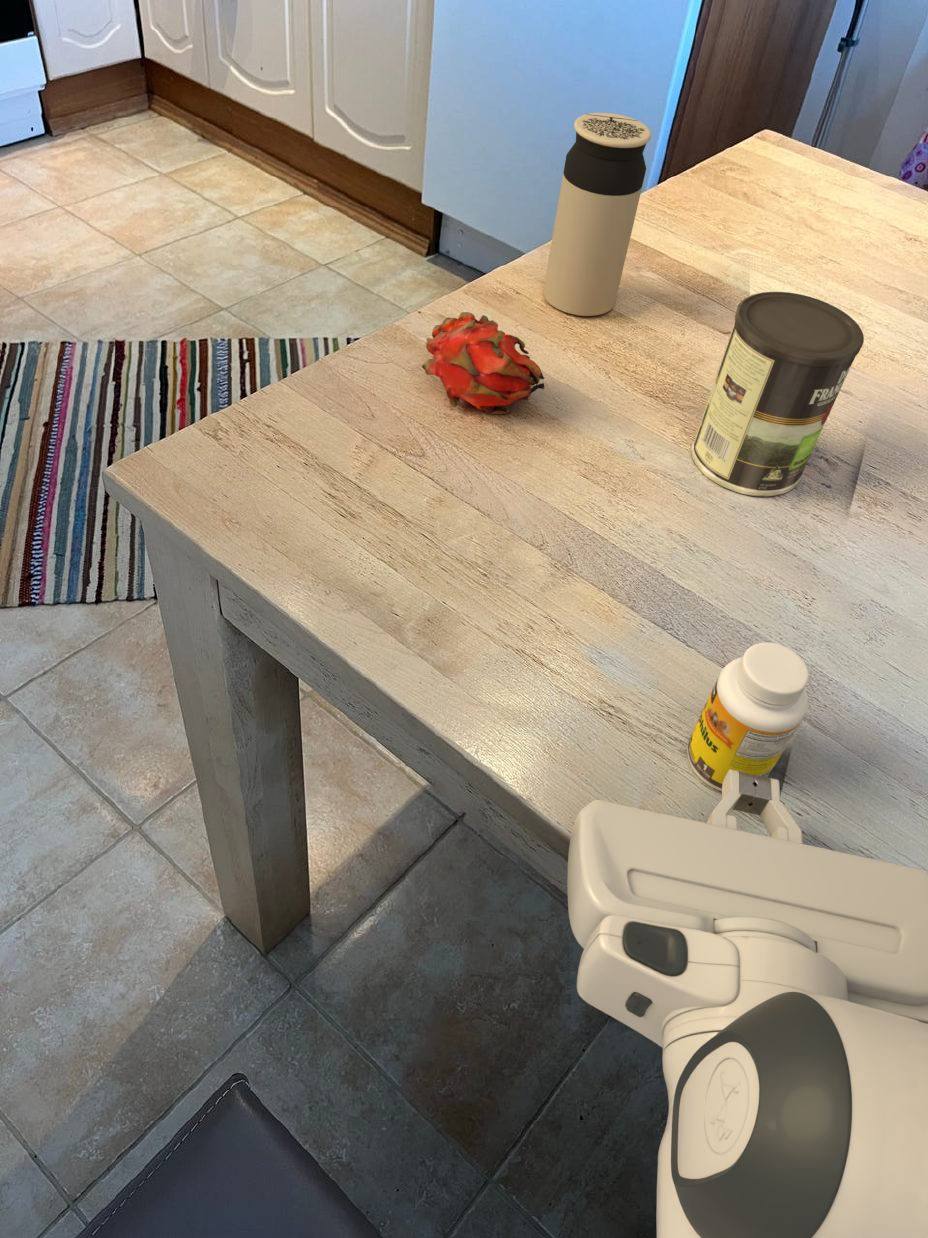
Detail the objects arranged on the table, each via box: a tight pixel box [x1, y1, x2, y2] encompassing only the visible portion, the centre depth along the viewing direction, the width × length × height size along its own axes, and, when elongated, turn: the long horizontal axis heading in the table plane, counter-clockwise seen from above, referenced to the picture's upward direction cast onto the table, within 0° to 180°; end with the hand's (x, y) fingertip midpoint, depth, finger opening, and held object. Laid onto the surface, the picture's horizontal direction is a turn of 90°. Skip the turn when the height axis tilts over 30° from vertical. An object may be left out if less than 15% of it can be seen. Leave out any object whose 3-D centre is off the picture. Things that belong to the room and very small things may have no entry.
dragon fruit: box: [421, 311, 545, 415], centre depth 87 cm, size 8×8×12 cm
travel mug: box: [542, 112, 652, 317], centre depth 97 cm, size 8×8×18 cm
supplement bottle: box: [686, 641, 810, 792], centre depth 60 cm, size 6×6×10 cm
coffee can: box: [690, 291, 865, 498], centre depth 82 cm, size 10×10×14 cm
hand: (750, 779), depth 57 cm, fingers closed
